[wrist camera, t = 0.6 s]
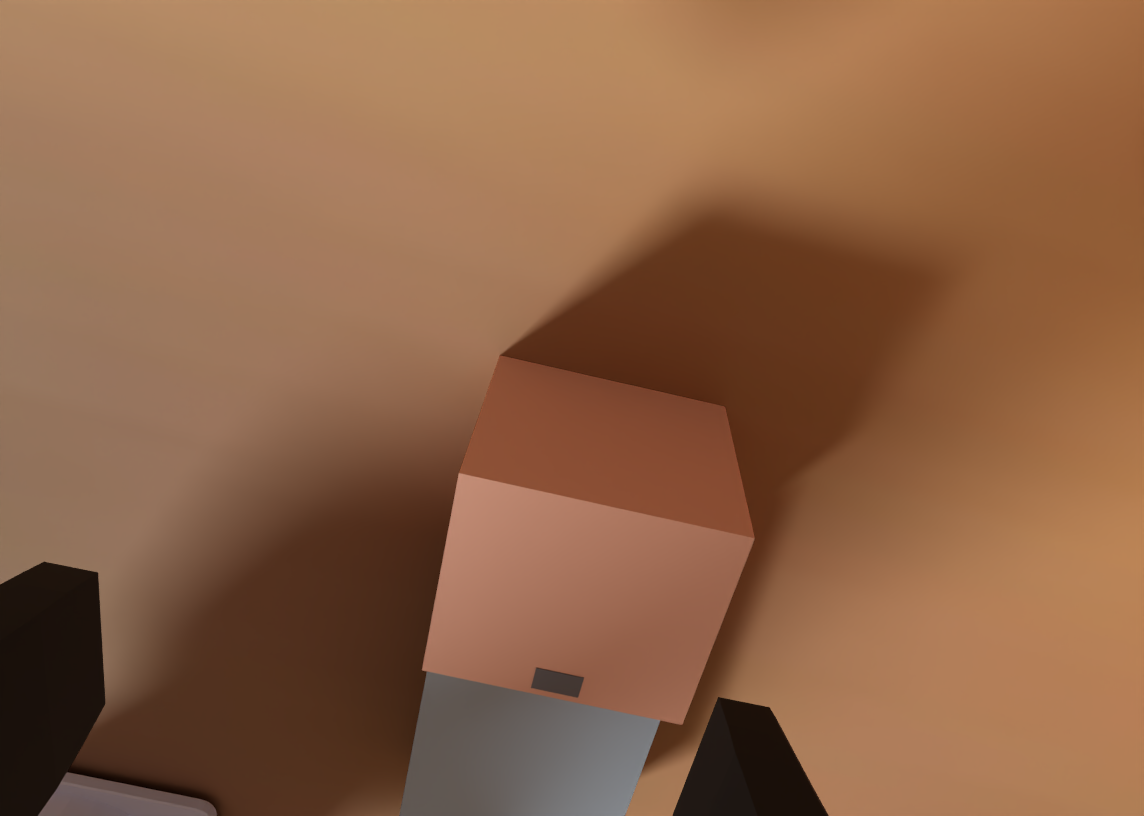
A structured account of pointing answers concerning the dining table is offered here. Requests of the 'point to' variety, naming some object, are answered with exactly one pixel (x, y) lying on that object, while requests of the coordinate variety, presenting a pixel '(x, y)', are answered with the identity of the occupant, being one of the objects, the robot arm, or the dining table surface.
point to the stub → (590, 543)
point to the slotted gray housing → (520, 754)
